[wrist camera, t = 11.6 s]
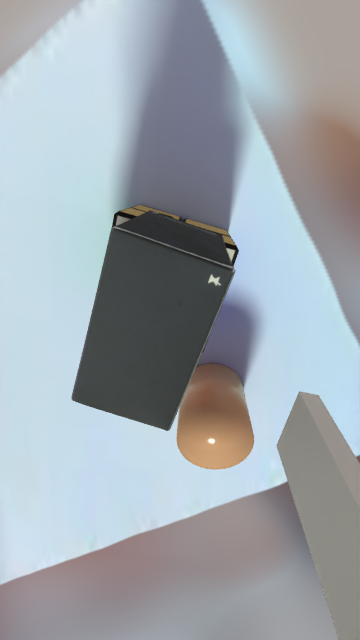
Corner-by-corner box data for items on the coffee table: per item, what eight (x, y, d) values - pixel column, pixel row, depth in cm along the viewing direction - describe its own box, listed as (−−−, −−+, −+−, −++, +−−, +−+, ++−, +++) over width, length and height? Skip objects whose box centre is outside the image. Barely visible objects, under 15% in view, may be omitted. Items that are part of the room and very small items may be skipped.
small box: (143, 205, 24) (105, 217, 14) (225, 234, 24) (244, 265, 14) (110, 328, 28) (63, 403, 18) (181, 350, 28) (173, 436, 18)
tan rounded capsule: (175, 408, 43) (170, 461, 34) (188, 357, 40) (185, 402, 31) (233, 419, 43) (242, 475, 35) (250, 370, 40) (264, 418, 32)
